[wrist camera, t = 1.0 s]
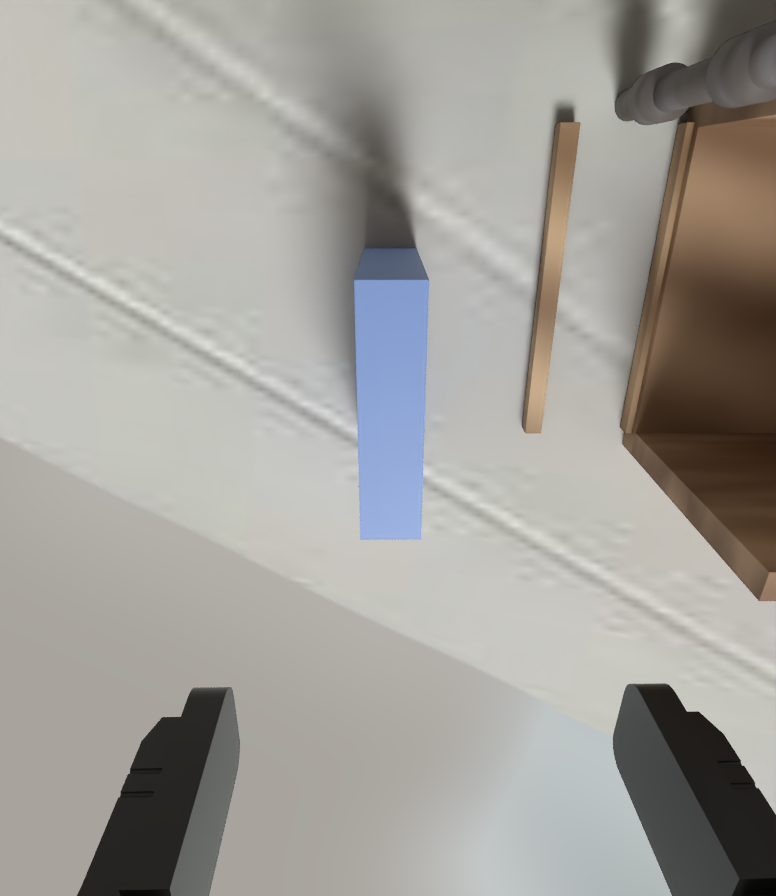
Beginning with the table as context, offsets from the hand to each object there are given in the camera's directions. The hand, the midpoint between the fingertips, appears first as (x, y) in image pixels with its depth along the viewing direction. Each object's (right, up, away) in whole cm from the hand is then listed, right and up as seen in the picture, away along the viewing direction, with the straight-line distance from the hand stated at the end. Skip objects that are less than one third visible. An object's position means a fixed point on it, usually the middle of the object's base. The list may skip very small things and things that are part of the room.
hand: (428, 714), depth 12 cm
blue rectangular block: (-1, +10, +17) cm, 20 cm away
